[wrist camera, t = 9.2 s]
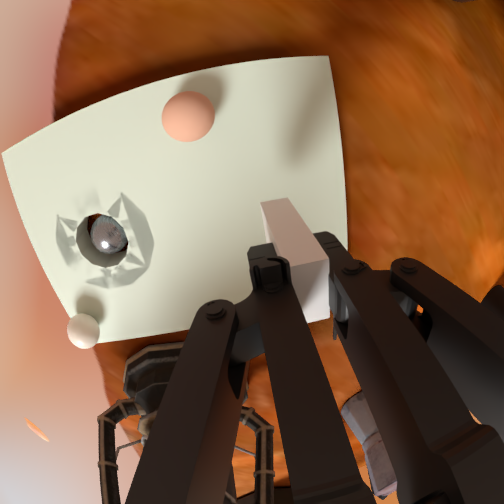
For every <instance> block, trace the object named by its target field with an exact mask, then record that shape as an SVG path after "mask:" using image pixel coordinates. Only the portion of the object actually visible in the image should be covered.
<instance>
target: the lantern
mask: <svg viewBox="0 0 504 504" xmlns="http://www.w3.org/2000/svg"><path fill="white" fill-rule="evenodd" d="M183 344H184V342H176V343H167V344H158V345H149V346H147V347H145V348H144V349H142V350H141V351H139V352H138V353H136V354H135V355H133V356H132V357H130V358H129V359H127V360H126V365H125V371H124V378H123V382H124V389H123V391H124V392H125V393H126V395H127V396H128V397H129V399H123V400H117V401H116V403H115V404H114V405H113V406H111V407H110V408H109V409H108V410H106V411H105V412H104V413H102V414H101V415H99V416H98V418H97V421H98V423H99V462H98V467H99V470H100V485H101V496H102V504H121V502H120V495H119V486H118V477H117V470H118V465H117V464H116V460H117V456H118V453H119V449H122V448H125V447H128V446H131V445H134V444H137V443H140V442H141V443H142V445H143V446H144V447H145V444H146V441H147V438H148V436H149V433H150V430H151V427H152V425H153V422H154V419H155V417H156V414H157V411H158V409H159V406H160V403H161V401H162V398H163V395H164V393H165V390H166V388H167V385H168V382H169V380H170V377H171V375H172V372H173V369H174V367H175V364H176V362H177V359H178V357H179V354H180V352H181V349H182V347H183ZM248 389H249V387H248V383H247V382H246V388H245V393H244V399H243V403H244V402H245V401H246V399H247V398H248V395H247V390H248ZM242 405H243V404H242ZM137 414H138V415H141V418H140V420H139V424H138V431H139V432H140V433H141V434H142V435H143V436H142V439H141V440H138V441H135V442H132V443H129V444H126V445H122V446H119V447H117V450H116V453H115V433H114V429H116V424H117V423H118V422H120V421H121V420H122V419H124V418H125V419H126V418H127V417H128V416H129V415H137ZM239 421H241V422H242V423H243V424H244V425H247V426H248V427H250V428H251V429H252V430H254V431H255V437H256V454H255V453H252V452H250V451H247V450H245V449H242V448H240V447H238V446H235V447H234V448H236V449H238V450H241V451H243V452H246V453H248V454H251V455H253V456H254V457H255V460H256V461H255V472H254V477H255V491H254V504H274V484H273V477H275V471H273V433H274V426H272V425H270V424H269V423H268V422H267V421H266V420H264V419H263V418H262V417H261V416H260V415H258V414H257V413H256V412H255V409H254V408H252V407H250V408H248V407H244V406H242V410H241V415H240V420H239ZM144 447H143V449H144ZM223 504H237V496H236V489H235V481H234V473H233V466H232V462H231V467H230V472H229V477H228V482H227V487H226V492H225V497H224V502H223Z"/></svg>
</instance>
